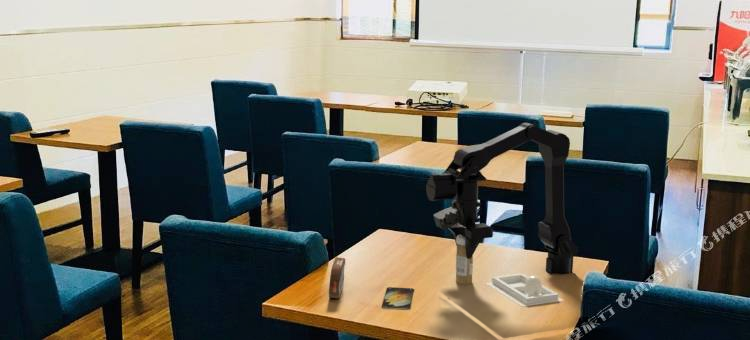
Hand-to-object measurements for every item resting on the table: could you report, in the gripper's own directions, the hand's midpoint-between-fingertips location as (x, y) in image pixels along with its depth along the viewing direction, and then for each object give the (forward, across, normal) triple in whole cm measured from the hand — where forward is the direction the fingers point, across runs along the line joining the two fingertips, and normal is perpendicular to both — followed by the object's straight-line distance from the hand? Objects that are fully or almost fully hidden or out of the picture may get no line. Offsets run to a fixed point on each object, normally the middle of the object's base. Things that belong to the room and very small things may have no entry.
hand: (464, 255), depth 221 cm
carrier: (+8, +12, +11) cm, 18 cm away
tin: (+8, -6, -33) cm, 35 cm away
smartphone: (+9, +3, -20) cm, 22 cm away
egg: (+7, +16, +11) cm, 21 cm away
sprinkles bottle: (+8, 0, 0) cm, 8 cm away
